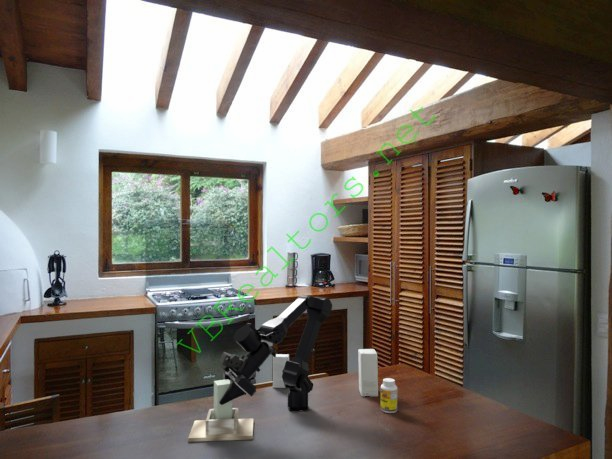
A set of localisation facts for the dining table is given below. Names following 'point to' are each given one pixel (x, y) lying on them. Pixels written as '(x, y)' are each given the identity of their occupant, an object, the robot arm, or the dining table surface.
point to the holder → (221, 428)
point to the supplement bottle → (389, 396)
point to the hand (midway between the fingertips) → (218, 401)
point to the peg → (219, 391)
